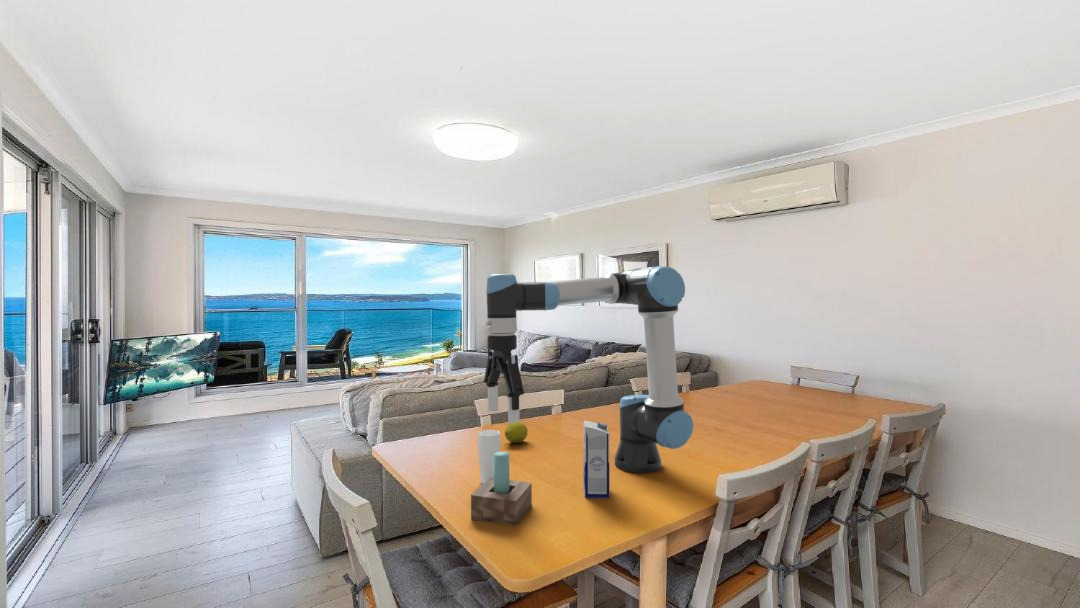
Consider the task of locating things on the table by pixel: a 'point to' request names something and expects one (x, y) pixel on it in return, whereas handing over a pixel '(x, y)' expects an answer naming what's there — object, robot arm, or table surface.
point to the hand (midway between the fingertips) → (503, 416)
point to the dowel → (501, 472)
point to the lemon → (516, 432)
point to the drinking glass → (488, 452)
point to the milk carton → (596, 460)
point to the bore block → (501, 502)
